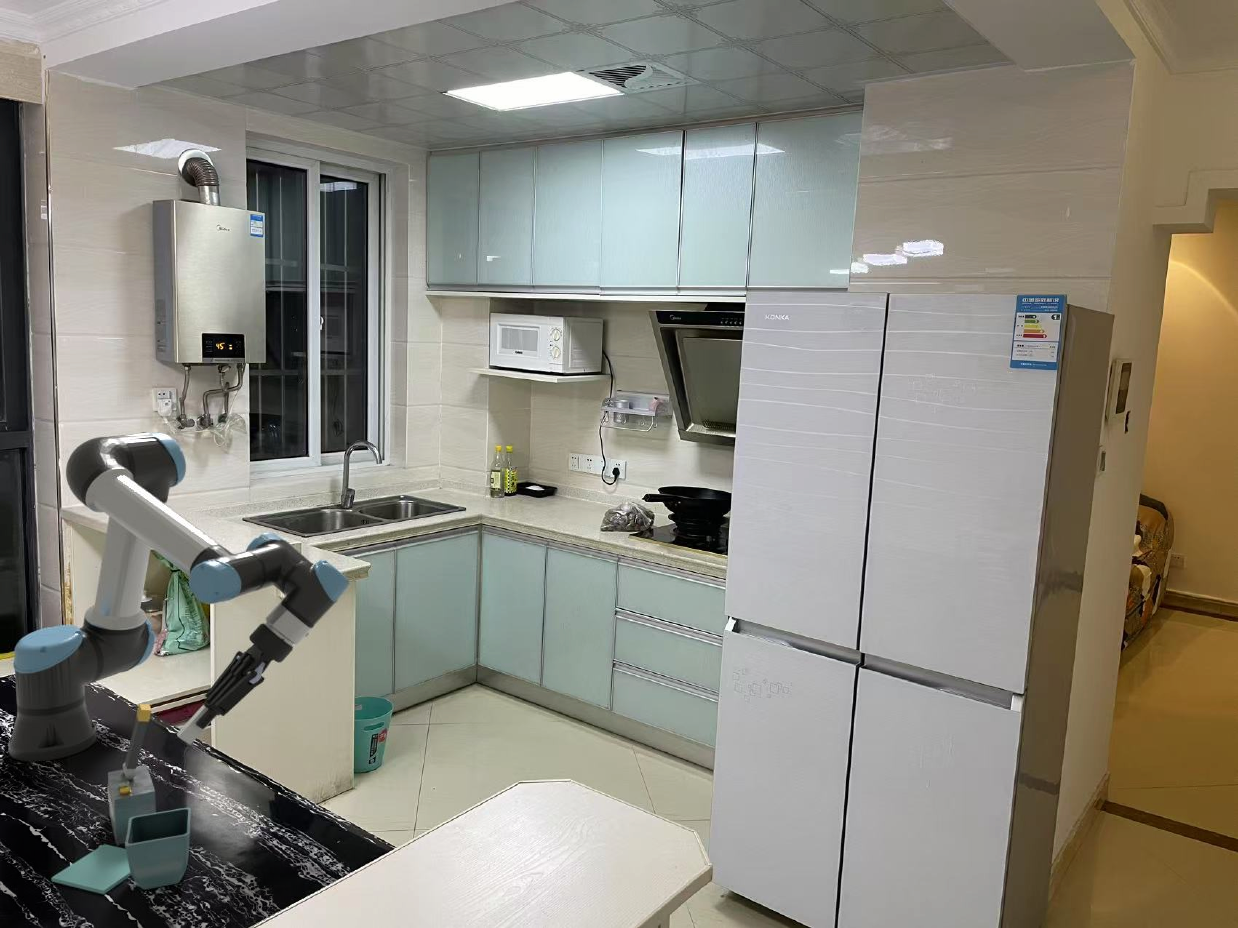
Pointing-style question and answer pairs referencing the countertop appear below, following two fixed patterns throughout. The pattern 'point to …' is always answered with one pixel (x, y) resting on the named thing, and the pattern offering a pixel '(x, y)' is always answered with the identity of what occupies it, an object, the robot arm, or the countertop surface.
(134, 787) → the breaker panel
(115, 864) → the pad
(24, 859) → the countertop surface
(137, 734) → the lever
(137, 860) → the flower pot
